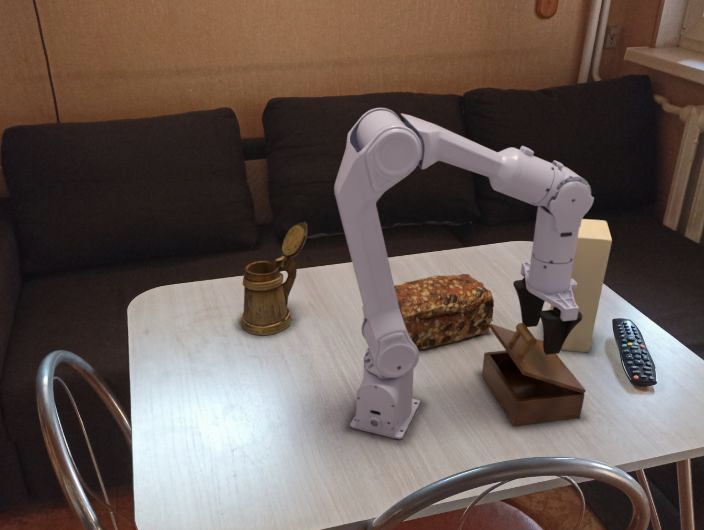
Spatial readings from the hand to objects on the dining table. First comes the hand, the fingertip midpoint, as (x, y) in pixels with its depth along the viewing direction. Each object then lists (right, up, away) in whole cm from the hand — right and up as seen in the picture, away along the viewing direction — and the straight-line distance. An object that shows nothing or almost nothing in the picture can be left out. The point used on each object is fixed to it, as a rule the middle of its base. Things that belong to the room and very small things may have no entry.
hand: (540, 338), depth 103 cm
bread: (-13, 0, +22) cm, 25 cm away
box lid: (0, -3, +2) cm, 4 cm away
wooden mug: (-41, +3, +26) cm, 49 cm away
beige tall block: (+10, -1, +19) cm, 22 cm away
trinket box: (0, -9, +5) cm, 10 cm away
